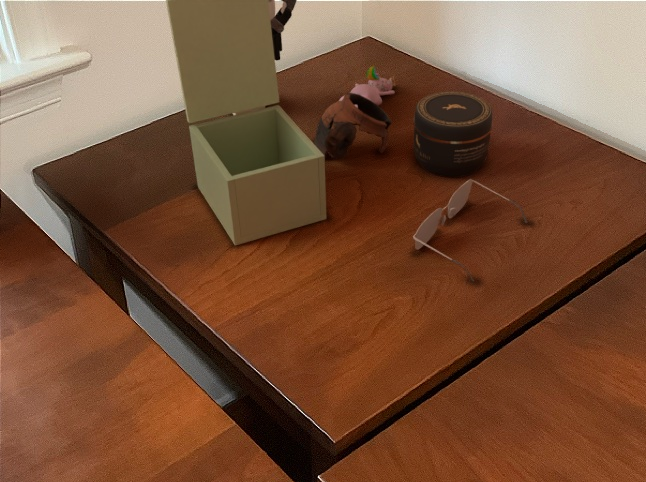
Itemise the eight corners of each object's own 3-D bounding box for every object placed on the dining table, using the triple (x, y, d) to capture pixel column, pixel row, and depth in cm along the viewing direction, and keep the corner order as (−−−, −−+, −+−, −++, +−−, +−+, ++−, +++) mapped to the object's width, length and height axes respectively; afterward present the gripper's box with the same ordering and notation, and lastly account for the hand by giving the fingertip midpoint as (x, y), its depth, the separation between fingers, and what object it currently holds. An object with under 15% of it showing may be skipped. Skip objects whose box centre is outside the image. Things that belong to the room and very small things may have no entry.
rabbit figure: (366, 91, 127) (324, 119, 114) (369, 52, 124) (326, 78, 112) (404, 98, 125) (365, 128, 112) (407, 59, 122) (368, 86, 110)
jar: (398, 150, 110) (400, 99, 105) (462, 134, 113) (467, 83, 109) (435, 187, 103) (439, 134, 98) (502, 169, 106) (509, 116, 101)
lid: (266, -17, 93) (251, -26, 97) (167, 0, 89) (155, -9, 93) (279, 102, 101) (265, 90, 105) (189, 123, 97) (177, 110, 101)
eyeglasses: (469, 199, 101) (474, 173, 98) (527, 225, 98) (534, 198, 95) (409, 257, 92) (413, 230, 89) (471, 288, 89) (477, 260, 86)
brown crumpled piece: (318, 130, 115) (346, 81, 112) (374, 167, 115) (404, 119, 112) (292, 153, 105) (323, 100, 101) (354, 194, 105) (387, 142, 101)
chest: (326, 219, 98) (324, 155, 92) (235, 245, 94) (227, 181, 88) (282, 165, 107) (278, 104, 102) (197, 187, 103) (188, 125, 98)
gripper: (280, -79, 110) (288, 42, 121) (155, -58, 105) (175, 66, 115) (302, -63, 105) (309, 61, 116) (172, -41, 99) (191, 88, 110)
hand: (242, 63), depth 116 cm, fingers open, 9 cm apart
